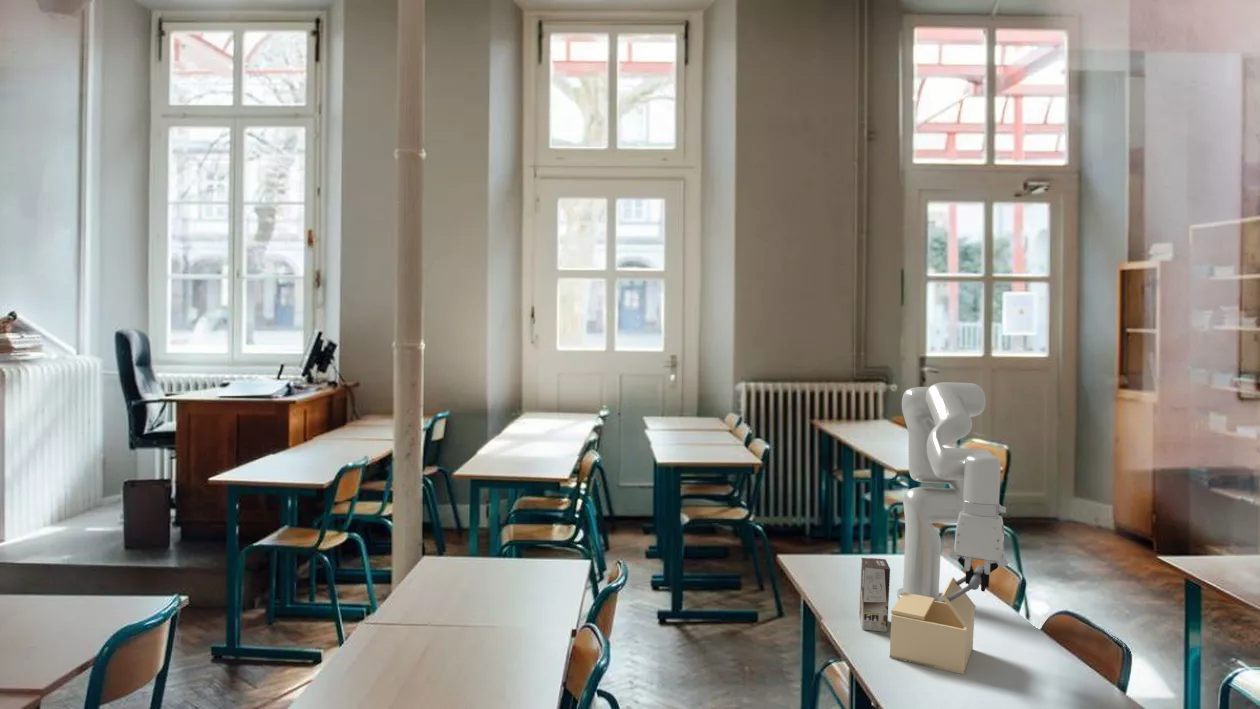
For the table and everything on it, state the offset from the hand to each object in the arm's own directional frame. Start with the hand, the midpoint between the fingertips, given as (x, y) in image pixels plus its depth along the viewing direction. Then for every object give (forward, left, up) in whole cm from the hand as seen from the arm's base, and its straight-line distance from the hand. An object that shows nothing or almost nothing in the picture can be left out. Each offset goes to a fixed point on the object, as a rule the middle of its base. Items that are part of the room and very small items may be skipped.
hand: (976, 587), depth 181 cm
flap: (0, -4, -4) cm, 6 cm away
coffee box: (-11, -25, -18) cm, 33 cm away
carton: (0, -9, -18) cm, 20 cm away
